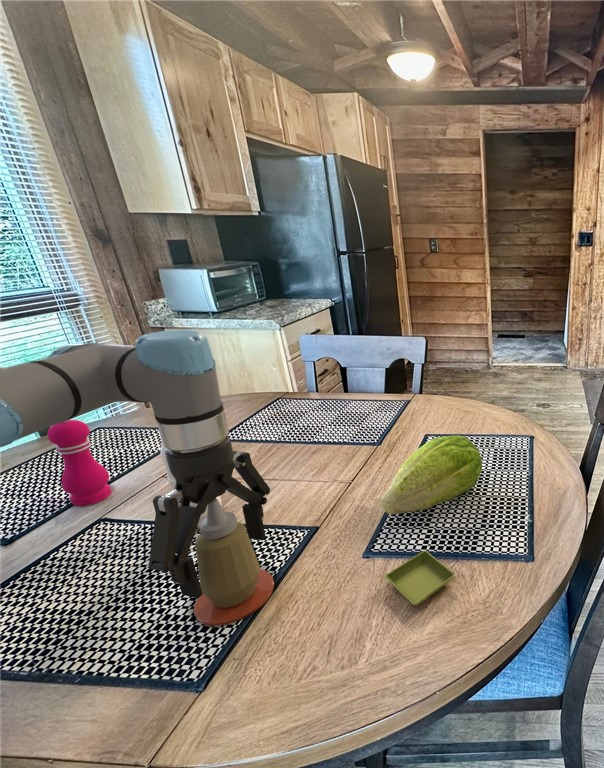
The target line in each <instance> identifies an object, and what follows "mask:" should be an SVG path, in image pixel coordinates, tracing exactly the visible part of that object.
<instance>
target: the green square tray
mask: <svg viewBox="0 0 604 768" xmlns="http://www.w3.org/2000/svg"><path fill="white" fill-rule="evenodd" d="M455 576H456V574H455V573H454V572H453V571H452V570H451V569H449V568H448V567H447V566H445V564H443V563H442V562H441V561H439V560H438V559H437V558H436V557H435V556H433V555H432V554H431V553H430V552H428V551H427V550H423V551H421V552H419V553H418V554H416V555H414V556H413V557H411V558H410V559H409V560H407V561H405V562H404V563H402V564H400V565H398V566H397V567H396V568H394V569H393V570H391V571H389V572H388V573H386V574H385V575H384V578H385V579H386V580H387V581H388V583H390V584H391V585H392V586H393V587H394V588H395V589H396V590H397V591H398V592H399V593H400V594H401V595H402V596H403V597H405V599H406V600H407V601H408V602H409V603H411V604H412V606H414V607H415V606H416V607H417V606H418V605H420V604H421V603H422V602H424V601H425V600H426V599H428V598H429V597H431V596H432V595H433V594H435V593H436V592H438V591H439V590H440V589H442V588H443V587H444V586H446V585H447V584H448V583H449V582H450V581H452V580H453V579H454V578H455Z"/></svg>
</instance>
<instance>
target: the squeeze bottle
mask: <svg viewBox="0 0 604 768" xmlns="http://www.w3.org/2000/svg"><path fill="white" fill-rule="evenodd" d="M198 529H199V531H200V534H199V535H198V536H197V538H196V539H195V541H194V543H195V544H194V545H195V551H196V552H195V553H196V561H197V568H198V579H199V583H200V586H201V590H202V593H203V594H204V595H205V596H206V597H207V598H208V599H209V600H210V601H212V602H213V603H214V604H215V605H216V606H218V607H221V608H228V607H233V606H236V605H238V604H240V603H242V602H244V601H245V600H247V599H248V598H249V597H250V596H251V595H252V594H253V593H254V592H255V588H256V585H257V580H258V576H259V571H260V569H261V566H260V563H259V560H258V558H257V555H256V552H255V550H254V546H253V545H252V541H251V538H249V536H248V532H247V527H246V524H243V523H242V522H239V521H238V520H237V516H236V514H235V513H234V512H231V511H225V510H224V508H223V505H222V506H221V505H220V503H219V501H218V499H216V498H215V499H214V500H213V501H212V502H211V503H209V504H208V508H207V518H206V519H204V520H203V521H202V522H201V523H200V525H199V528H198Z"/></svg>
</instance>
